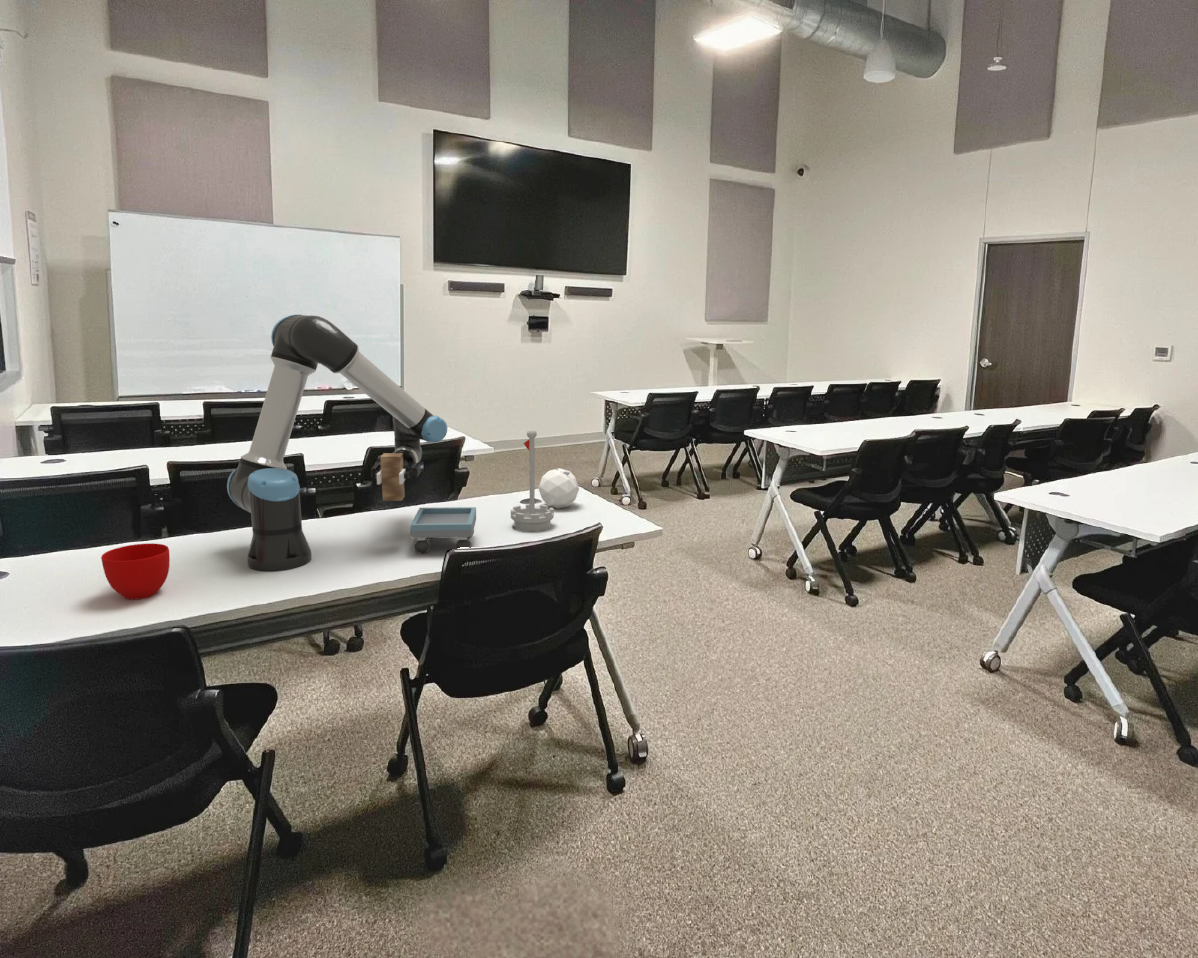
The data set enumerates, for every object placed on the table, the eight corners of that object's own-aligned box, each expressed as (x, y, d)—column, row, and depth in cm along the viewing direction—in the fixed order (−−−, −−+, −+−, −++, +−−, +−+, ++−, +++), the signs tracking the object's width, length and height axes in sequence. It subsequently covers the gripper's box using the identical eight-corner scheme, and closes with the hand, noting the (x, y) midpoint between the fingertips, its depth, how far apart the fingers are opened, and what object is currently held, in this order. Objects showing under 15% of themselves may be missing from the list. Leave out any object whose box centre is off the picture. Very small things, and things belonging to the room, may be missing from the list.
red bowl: (160, 575, 181) (156, 536, 179) (180, 595, 169) (175, 553, 167) (97, 588, 172) (92, 546, 170) (113, 609, 160) (108, 565, 158)
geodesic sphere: (595, 490, 250) (575, 455, 252) (574, 498, 239) (552, 462, 240) (567, 510, 258) (547, 477, 259) (544, 519, 246) (523, 484, 248)
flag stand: (561, 528, 226) (562, 430, 219) (523, 534, 219) (523, 433, 212) (540, 518, 236) (539, 424, 230) (503, 524, 229) (502, 427, 223)
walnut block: (382, 500, 199) (380, 456, 196) (386, 496, 204) (383, 453, 201) (401, 500, 199) (399, 456, 197) (404, 496, 204) (402, 453, 202)
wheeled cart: (411, 555, 198) (410, 525, 196) (420, 536, 216) (419, 507, 214) (472, 554, 200) (471, 524, 198) (476, 535, 217) (476, 507, 215)
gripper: (435, 473, 219) (425, 492, 197) (372, 474, 217) (354, 493, 195) (434, 448, 218) (424, 464, 195) (370, 449, 216) (353, 465, 193)
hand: (389, 479), depth 195 cm, fingers closed on walnut block, 5 cm apart
